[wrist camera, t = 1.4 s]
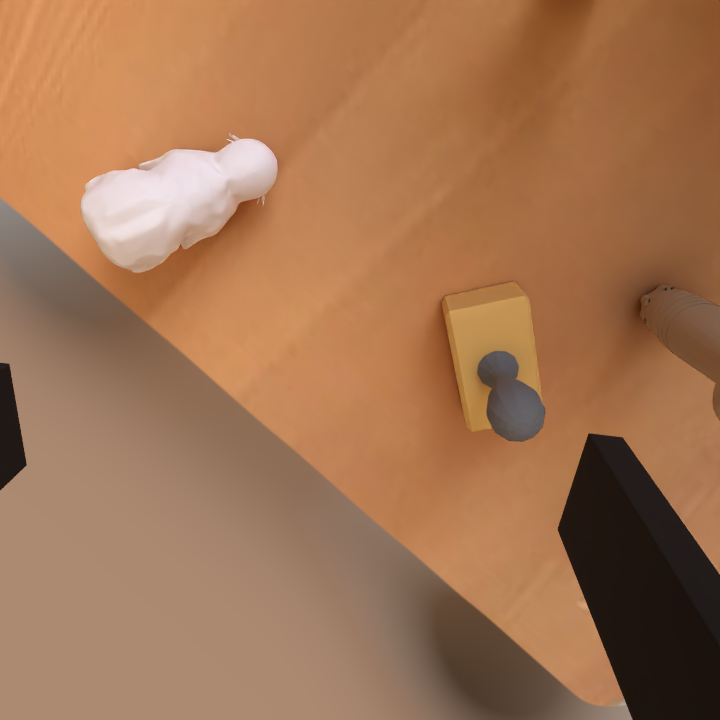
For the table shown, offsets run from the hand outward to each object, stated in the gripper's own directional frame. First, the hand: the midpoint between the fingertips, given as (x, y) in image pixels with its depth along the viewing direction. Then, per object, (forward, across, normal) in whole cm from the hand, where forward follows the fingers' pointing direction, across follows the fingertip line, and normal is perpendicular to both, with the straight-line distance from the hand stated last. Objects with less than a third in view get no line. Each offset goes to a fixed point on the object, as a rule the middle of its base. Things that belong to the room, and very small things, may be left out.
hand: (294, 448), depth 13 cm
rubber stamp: (+30, +11, -9) cm, 33 cm away
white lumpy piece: (+30, -11, +1) cm, 32 cm away
